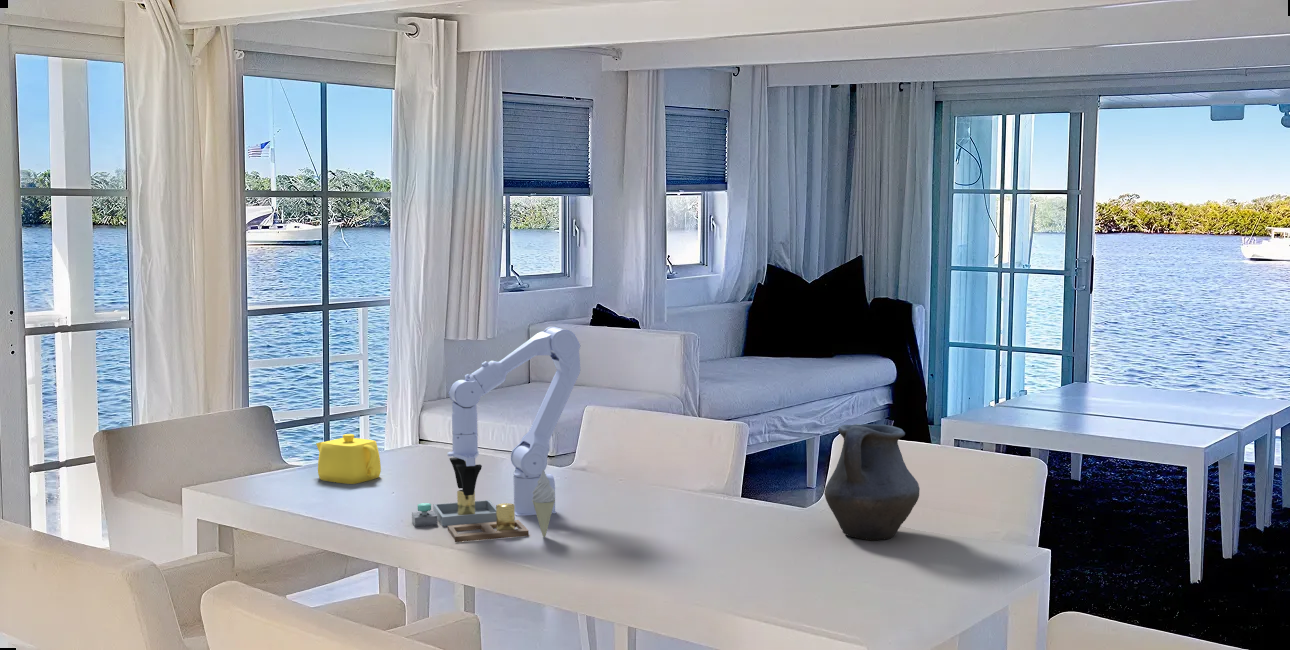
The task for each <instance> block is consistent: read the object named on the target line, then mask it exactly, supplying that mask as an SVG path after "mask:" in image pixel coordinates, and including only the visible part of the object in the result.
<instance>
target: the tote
mask: <svg viewBox="0 0 1290 650" xmlns="http://www.w3.org/2000/svg"><path fill="white" fill-rule="evenodd" d="M432 511H434V512H435V513H436V515H437V520H438V522H439V523H440V525H441V527H446V526H447V527H448V526H451V525H463V524H475V523H488V522H496V506H495V504H494V503H492V502H491V500H490V499H485V500H475V514H468V515H458V505H457V502H444V503H434V504H432Z"/></svg>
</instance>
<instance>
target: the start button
mask: <svg viewBox="0 0 1290 650" xmlns="http://www.w3.org/2000/svg"><path fill="white" fill-rule="evenodd" d="M417 511H418V512H422V516H423V515H427V511H432V504H431V503H428V502H427V503H426V502H423V503H418V504H417Z"/></svg>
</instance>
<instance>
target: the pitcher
mask: <svg viewBox="0 0 1290 650" xmlns="http://www.w3.org/2000/svg"><path fill="white" fill-rule="evenodd" d="M837 430H838V433H839V435H840V436H842V438H843V443H842V448H841V453H840V455H839V459H838V462H837V464H836V467H835V469H834V471H833V473H832V475H831V476H830V478H829V479H828V481H827V484H826V486H825V488H824V492H823V493H824V497H825V500H826V503H827V505H828V507H829V509H830V510H831V512H832V513H833V515H834V517H835V519H836V521H837V523H838V526H839V527H840V529H841V530H842V533H843V534H845V535H846V536H849V537H852V538H855V539H860V540H866V541H871V542H872V541H873V542H874V541H881V540H889V539H891V538H893V537H894V536H895V535H896V533H897V532H898V530H899V529H900V527H901V526H902V524H904V522H906V520H907V519H908V517H909V515H910V514H911V513H912V511H913V508H914V507H915V506H916V504H917V502H918V501H919V499H920V485H919V483H918V481H917V479H916V478H915V476H914V475H913V474H912V473H911V472H910V471H909V469H908V467H907V466H906V465H907V464H906V462H905V460H904V457H903V456H902V455H903V454H902V453H901V449H900V447H899V443H898V442H899V440H900V439H901V438H903V437H905V435H906V432H905V431H904V430H903V429H902V428H900V427H897V426H893V425H889V424H877V423H876V424H875V423H874V424H869V423H868V424H867V423H864V424H863V423H862V424H843V425H841V426H839V427H838V429H837Z"/></svg>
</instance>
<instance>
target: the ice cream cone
mask: <svg viewBox="0 0 1290 650" xmlns="http://www.w3.org/2000/svg"><path fill="white" fill-rule="evenodd" d="M546 474H547V473H546V471H544V469H543V471H542V474H541V476H540V479H539V480H538V485H537V487H536V488H535V490H534V491H533V492H532V493H533V497H532V499H533V500H532V502H533V504H534V507H535V511H536V514H537V515H536V518H537V521H538V525H539V528H540V531H541V533H542V538H546V537H547V531H548V528H549V523H550V520H551V518H552V514H553V513H552V509H553V505H554V502H555V503H556V490H555V491H554V489H553V488H552V487H551V486H550V484H549V483H550V481H549V480H548V478H547V476H546Z"/></svg>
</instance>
